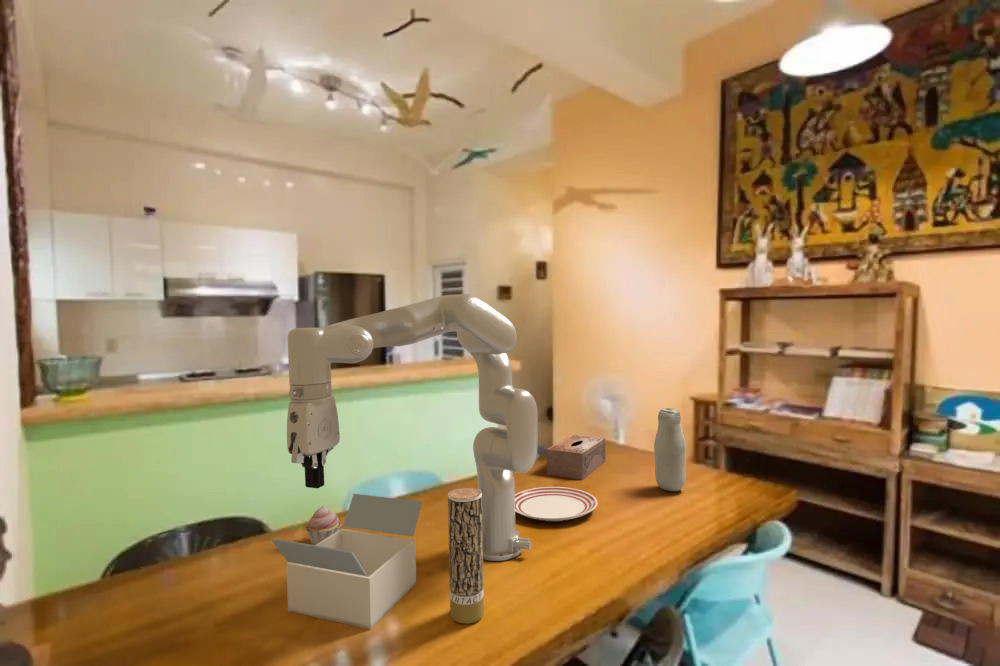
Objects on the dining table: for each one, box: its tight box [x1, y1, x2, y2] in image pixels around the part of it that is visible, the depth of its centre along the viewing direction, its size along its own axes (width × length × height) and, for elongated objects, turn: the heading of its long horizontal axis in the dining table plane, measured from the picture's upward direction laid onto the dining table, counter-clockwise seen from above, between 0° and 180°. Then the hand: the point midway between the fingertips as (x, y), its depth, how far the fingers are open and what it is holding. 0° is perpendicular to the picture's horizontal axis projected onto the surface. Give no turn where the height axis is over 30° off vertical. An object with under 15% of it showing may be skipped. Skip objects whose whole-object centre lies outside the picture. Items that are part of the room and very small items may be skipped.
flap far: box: [343, 493, 423, 537], centre depth 122 cm, size 19×8×1 cm
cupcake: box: [304, 505, 343, 545], centre depth 138 cm, size 9×9×10 cm
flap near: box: [270, 537, 367, 576], centre depth 100 cm, size 19×8×1 cm
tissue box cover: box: [545, 434, 607, 481], centre depth 202 cm, size 26×14×10 cm, turn 150°
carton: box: [286, 528, 417, 630], centre depth 111 cm, size 20×18×10 cm
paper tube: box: [447, 487, 485, 625], centre depth 103 cm, size 7×7×25 cm
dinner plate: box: [515, 486, 598, 522], centre depth 159 cm, size 27×27×3 cm
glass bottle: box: [653, 407, 687, 493], centre depth 174 cm, size 10×10×28 cm
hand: (315, 486), depth 99 cm, fingers closed
